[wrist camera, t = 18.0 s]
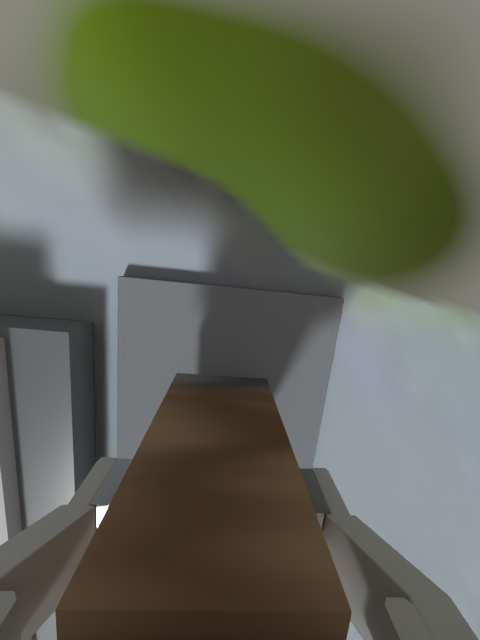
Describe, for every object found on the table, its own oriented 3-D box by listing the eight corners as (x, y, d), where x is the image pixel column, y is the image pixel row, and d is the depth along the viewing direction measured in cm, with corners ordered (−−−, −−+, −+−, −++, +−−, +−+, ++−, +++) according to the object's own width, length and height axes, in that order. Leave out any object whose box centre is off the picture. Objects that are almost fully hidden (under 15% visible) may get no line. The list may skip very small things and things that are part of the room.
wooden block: (266, 378, 11) (352, 613, 4) (258, 457, 12) (312, 797, 4) (176, 372, 11) (55, 608, 3) (173, 453, 12) (65, 807, 4)
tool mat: (339, 297, 13) (344, 298, 13) (306, 476, 16) (309, 484, 15) (123, 276, 13) (117, 276, 12) (121, 466, 15) (117, 474, 14)
